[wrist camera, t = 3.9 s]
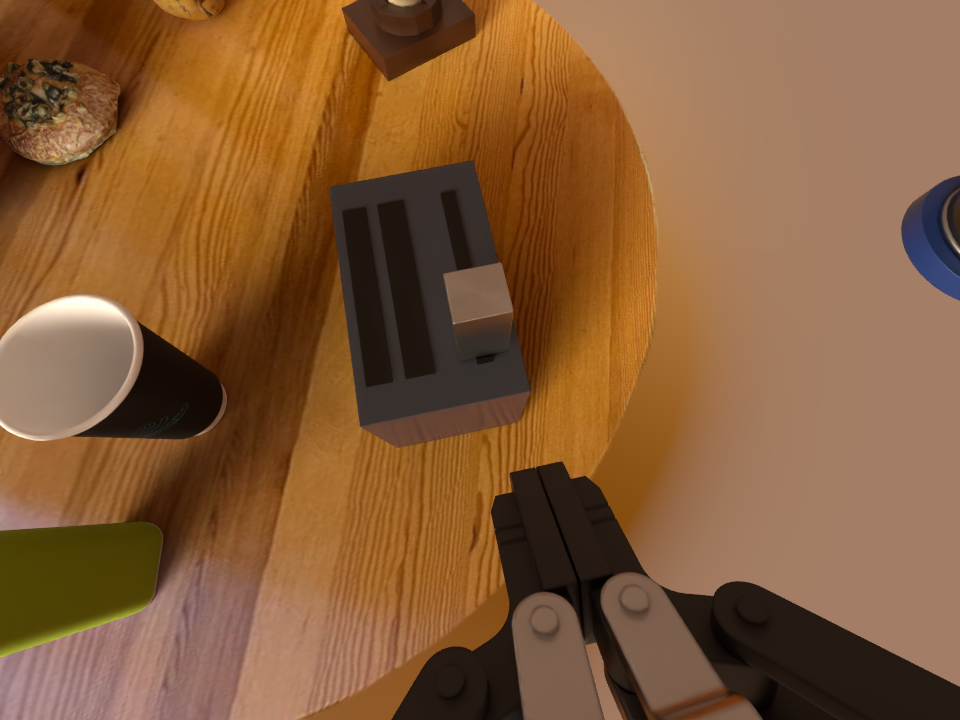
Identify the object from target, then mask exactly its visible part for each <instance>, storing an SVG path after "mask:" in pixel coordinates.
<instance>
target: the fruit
mask: <svg viewBox="0 0 960 720" xmlns="http://www.w3.org/2000/svg"><path fill="white" fill-rule="evenodd" d="M153 1H154V2H155V3H156V4H157V5H158V6H159V7H160V8H161V9H163V10H164V11H166V12H167V13H169V14H171V15H174V16H177V17H182V18H186V19H190V20H195V21H202V20H206V19H210V18H213V17H215V16H216V15H218V14H219V13H220V12H221V10H222V8H223V6H224V3H225V0H153Z"/></svg>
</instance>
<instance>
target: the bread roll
mask: <svg viewBox="0 0 960 720" xmlns="http://www.w3.org/2000/svg"><path fill="white" fill-rule="evenodd" d="M120 93H121V92H120V86H119V84H117V83H116V81H114V80H113V77H112V76H110V75H108V74H103V73H100V72H98V71H97V70H95V69H93V68H92V67H89V66H88V65H85V64H82V63H80V62H73V61H67V60H58V59H53V58H48V59H46V60H42V61H41V60H38V59H35V58H34V59H28V63H27V64H24V65H22V66H19V65H17V64H15V63H13V62H9V63H8V65H7V70H6V71H5V73H4V74H2V75H1V78H0V139H1V141H2V142H3V143H4V144H5V145H6V146H8V147H9V148H10V149H11V150H12V151H14V152H15V153H17V154H19V155H21V156H23V157H25V158H27V159H30V160H35V161H37V162H39V163H42V164H45V165H53V166H54V165H59V164H60V165H61V164H62V165H65V164H67V163H71V162H72V161H75V160H80V159H83V158H87V157H88V156H89V153H92V152H93V151H94V150H95V149H96V148H97V147H98V146H99V145H101V144H103V142H104V141H105V140H106V139H108V138H109V137H110V136H112V135H113V134H115V133H116V127H117V121H118V116H117V115H118V110H117V109H118V102H117V101H118V97H119V95H120Z"/></svg>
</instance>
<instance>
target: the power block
mask: <svg viewBox="0 0 960 720" xmlns="http://www.w3.org/2000/svg"><path fill="white" fill-rule="evenodd" d="M342 11H343V14H344V18H345V21H346V24H347V28H348V31H349V32H350V33H351V35H352V36H353V37H354V38H355V40H356V41H357V42H358V43H359V45H360V46H361V47H362V48H363V50H364V51H365V52H366V53H367V55H368V56H369V57H370V58H371V60H372V61H373V62H374V63H375V65H376V66H377V67H378V68H379V70H380V71H381V72H382V73H383V75H384V76H385V77H386V78H387V80H388V81H390V80H392V79H394V78H396V77H398V76H400V75H402V74H404V73H406V72H408V71H410V70H411V69H413V68H415V67H417V66H419V65H421V64H423V63H425V62H427V61H429V60H431V59H433V58H435V57H437V56H439V55H441V54H443V53H445V52H447V51H449V50H451V49H453V48H455V47H457V46H458V45H460V44H462V43H464V42H466V41H468V40H470V39H472V38H474V37H475V14H474V13H473V12H472V11H471V10H470V9H469V8H468V6H467V5H466V4H465V3H464V2H463V1H462V0H422V1H421V2H419V3H417V4H415V5H413V6H411V7H396V6H393V5H390V4H389V3H388V1H387V0H358V1H356V2H354V3H352V4H350V5H348V6H345V7H343V8H342Z"/></svg>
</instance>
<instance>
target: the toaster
mask: <svg viewBox="0 0 960 720" xmlns="http://www.w3.org/2000/svg"><path fill="white" fill-rule="evenodd" d="M329 190H330V197H331V205H332V213H333V221H334V228H335V236H336V244H337V251H338V259H339V267H340V275H341V282H342V290H343V298H344V305H345V313H346V321H347V329H348V336H349V344H350V352H351V360H352V367H353V375H354V383H355V390H356V398H357V406H358V414H359V421H360V427H362V428H364V429H365V430H367V431H369V432H371V433H372V434H374V435H376V436H378V437H379V438H381V439H383V440H385V441H387V442H388V443H390V444H392V445H394V446H395V447H397V448H400V447H404V446H409V445H414V444H418V443H423V442H428V441H433V440H437V439H442V438H447V437H451V436H456V435H461V434H466V433H470V432H475V431H480V430H484V429H489V428H494V427H498V426H503V425H508V424H513V423H517V422H518V421H519V419H520V417H521V414H522V412H523V409H524V407H525V404H526V402H527V399H528V397H529V394H530V392H531V388H530V384H529V380H528V376H527V372H526V368H525V364H524V360H523V356H522V352H521V349H520V345H519V341H518V337H517V333H516V329H515V325H514V321H513V320H512V327H511V334H510V341H509V348H508V351H504V352H499V353H494V354H489V355H484V356H480V357H475V358H470V359H465V360H460V357H459V352H458V347H457V342H456V337H455V333H454V328H453V323H452V318H451V313H450V308H449V303H448V298H447V293H446V288H445V282H444V277H443V274H444V273H449V272H454V271H459V270H465V269H470V268H475V267H480V266H485V265H490V264H495V263H499V261H498V257H497V253H496V249H495V245H494V241H493V237H492V233H491V229H490V225H489V221H488V217H487V213H486V209H485V205H484V201H483V197H482V193H481V189H480V185H479V181H478V177H477V173H476V169H475V165H474V161H467V162H462V163H456V164H451V165H445V166H440V167H434V168H429V169H424V170H418V171H413V172H407V173H402V174H396V175H391V176H385V177H380V178H375V179H369V180H364V181H358V182H353V183H347V184H342V185H336V186H331V187H329Z"/></svg>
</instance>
